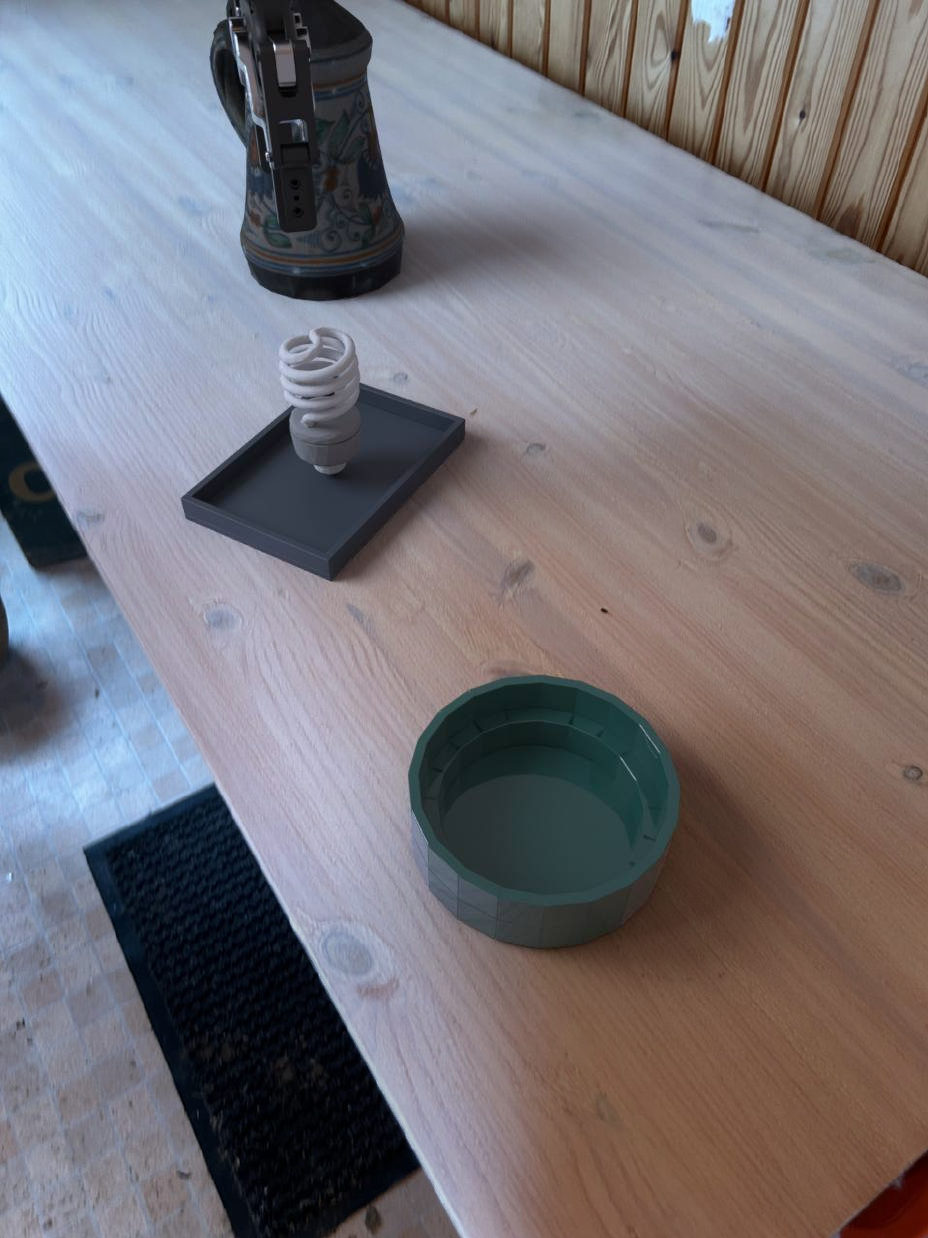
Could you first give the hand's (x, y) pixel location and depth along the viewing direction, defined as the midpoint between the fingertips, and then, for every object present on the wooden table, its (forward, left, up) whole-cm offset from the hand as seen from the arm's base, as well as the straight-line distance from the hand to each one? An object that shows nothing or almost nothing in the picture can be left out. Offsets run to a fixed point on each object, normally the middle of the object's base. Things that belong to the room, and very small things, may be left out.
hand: (288, 198), depth 59 cm
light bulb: (0, -1, -22) cm, 22 cm away
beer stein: (+29, +21, -22) cm, 42 cm away
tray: (+1, -1, -22) cm, 22 cm away
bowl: (-19, -29, -22) cm, 41 cm away
